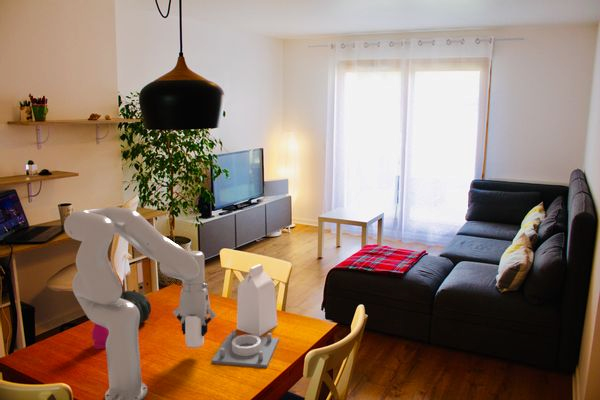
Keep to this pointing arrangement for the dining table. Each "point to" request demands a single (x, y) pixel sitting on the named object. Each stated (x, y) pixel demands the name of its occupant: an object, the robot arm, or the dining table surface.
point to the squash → (138, 303)
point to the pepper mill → (100, 336)
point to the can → (193, 332)
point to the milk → (256, 303)
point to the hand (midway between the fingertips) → (194, 333)
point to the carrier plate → (246, 359)
